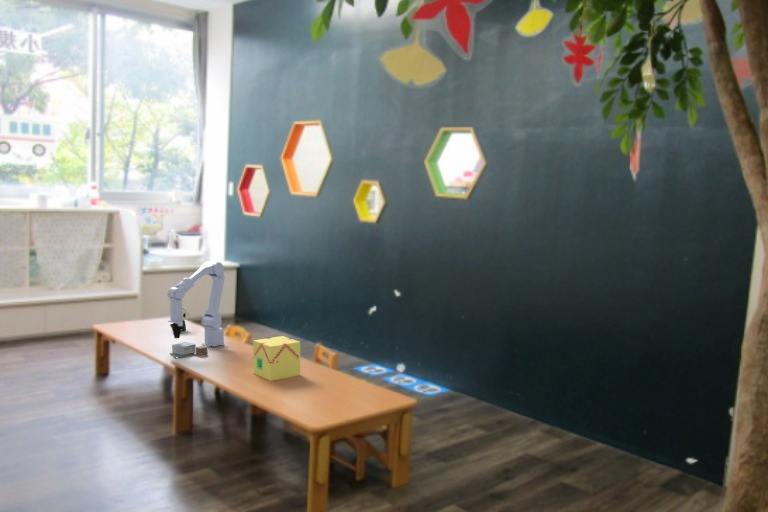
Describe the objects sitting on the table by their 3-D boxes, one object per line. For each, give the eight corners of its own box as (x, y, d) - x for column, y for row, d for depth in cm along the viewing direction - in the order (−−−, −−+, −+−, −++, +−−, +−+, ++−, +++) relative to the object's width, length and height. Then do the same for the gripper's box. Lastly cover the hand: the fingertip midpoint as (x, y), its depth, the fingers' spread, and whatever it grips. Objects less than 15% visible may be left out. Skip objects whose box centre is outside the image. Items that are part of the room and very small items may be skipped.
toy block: (253, 373, 288) (253, 340, 286) (282, 367, 297) (282, 335, 296) (270, 381, 276) (270, 346, 275) (300, 375, 286) (300, 341, 285)
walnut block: (203, 353, 321) (202, 345, 321) (207, 355, 319) (207, 347, 318) (195, 355, 318) (195, 347, 318) (200, 356, 316) (200, 348, 315)
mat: (187, 351, 325) (187, 350, 325) (193, 356, 316) (193, 355, 316) (169, 353, 320) (169, 353, 320) (175, 358, 312) (175, 357, 312)
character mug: (173, 332, 368) (172, 310, 367) (169, 330, 374) (168, 308, 372) (191, 330, 375) (191, 308, 373) (187, 328, 380) (187, 306, 379)
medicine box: (171, 353, 320) (182, 355, 315) (171, 344, 320) (182, 346, 314) (185, 350, 326) (196, 352, 321) (185, 341, 326) (195, 344, 321)
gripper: (164, 309, 325) (164, 336, 326) (172, 314, 313) (172, 341, 314) (178, 308, 329) (178, 334, 330) (186, 313, 317) (187, 340, 318)
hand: (176, 338), depth 322 cm, fingers closed
